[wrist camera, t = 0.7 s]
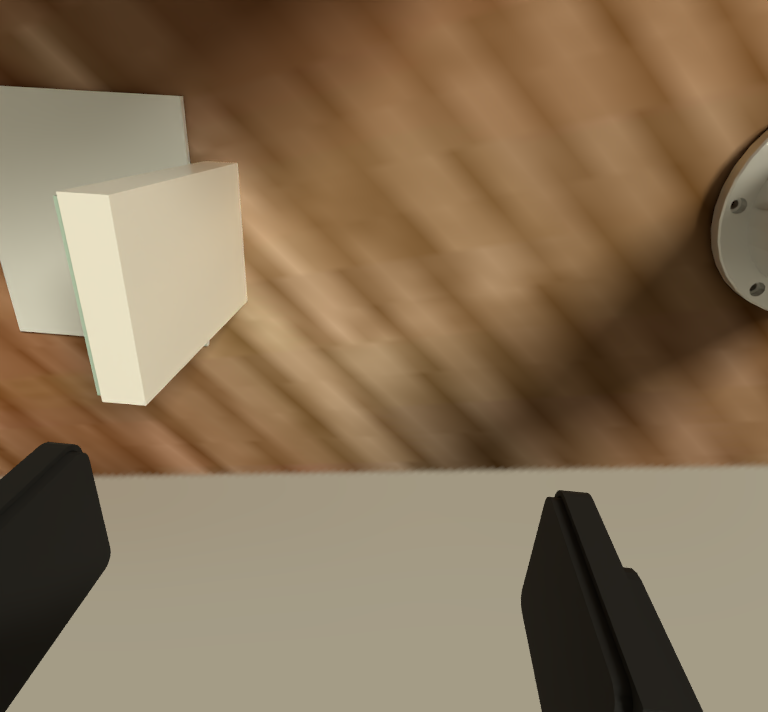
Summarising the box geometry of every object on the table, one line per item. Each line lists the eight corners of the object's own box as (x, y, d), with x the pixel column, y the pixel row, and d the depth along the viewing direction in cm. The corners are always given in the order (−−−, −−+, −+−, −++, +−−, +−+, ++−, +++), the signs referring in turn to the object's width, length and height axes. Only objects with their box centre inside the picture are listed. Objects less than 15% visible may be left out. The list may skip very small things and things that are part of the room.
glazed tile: (237, 162, 31) (108, 195, 18) (247, 301, 35) (146, 405, 22) (201, 160, 31) (47, 190, 19) (214, 298, 35) (95, 401, 22)
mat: (183, 96, 30) (179, 96, 29) (209, 343, 37) (207, 346, 36) (-45, 83, 30) (-50, 83, 30) (24, 328, 37) (20, 330, 37)
